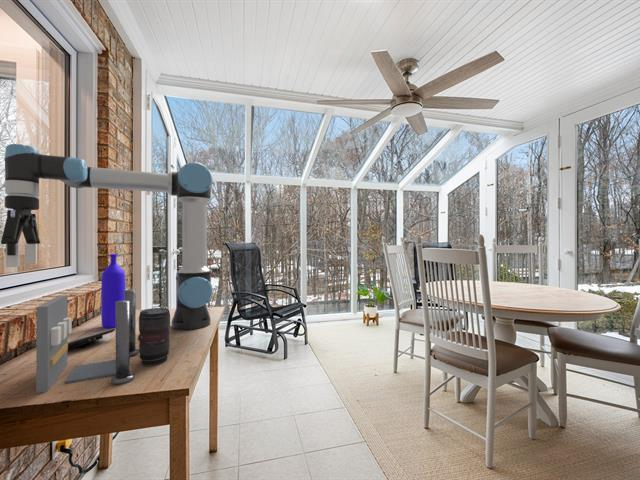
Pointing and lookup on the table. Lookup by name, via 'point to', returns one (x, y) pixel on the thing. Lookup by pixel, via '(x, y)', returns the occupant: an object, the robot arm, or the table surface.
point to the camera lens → (154, 335)
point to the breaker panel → (51, 341)
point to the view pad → (92, 371)
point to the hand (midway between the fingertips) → (22, 265)
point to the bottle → (111, 292)
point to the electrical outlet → (88, 338)
